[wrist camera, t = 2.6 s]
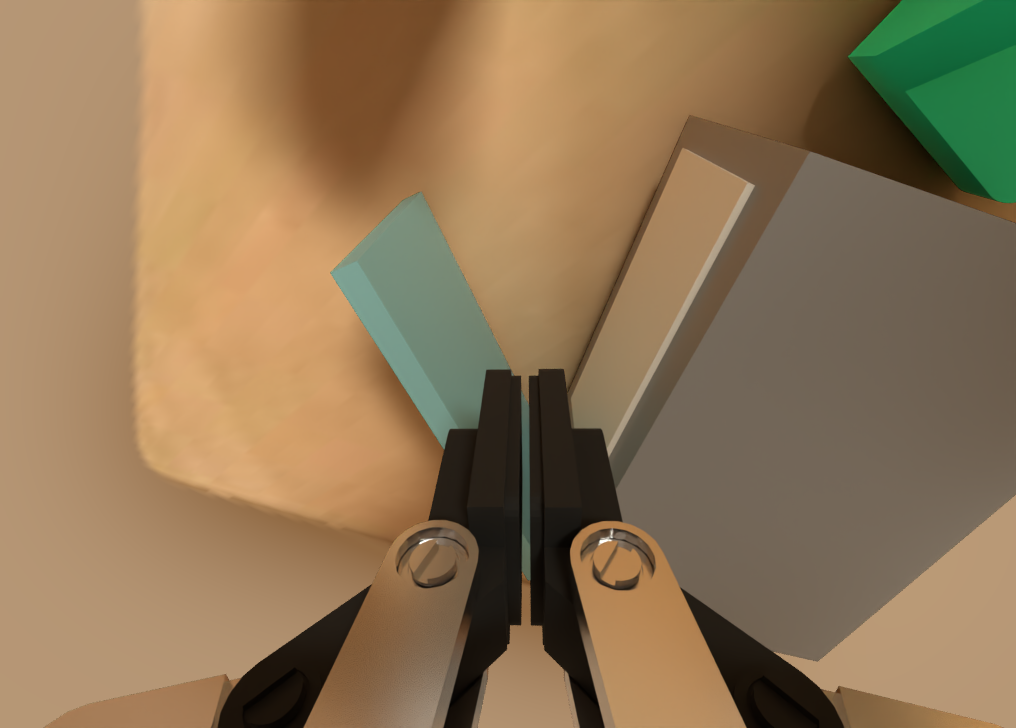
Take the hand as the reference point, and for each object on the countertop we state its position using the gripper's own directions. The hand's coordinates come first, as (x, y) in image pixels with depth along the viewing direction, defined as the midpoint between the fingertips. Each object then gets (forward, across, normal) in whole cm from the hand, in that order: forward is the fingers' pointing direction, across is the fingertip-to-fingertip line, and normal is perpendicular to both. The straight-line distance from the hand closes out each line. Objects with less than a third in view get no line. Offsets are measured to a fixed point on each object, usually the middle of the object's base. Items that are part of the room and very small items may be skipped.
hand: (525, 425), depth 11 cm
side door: (+11, +2, +3) cm, 12 cm away
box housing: (+11, -9, +4) cm, 15 cm away
